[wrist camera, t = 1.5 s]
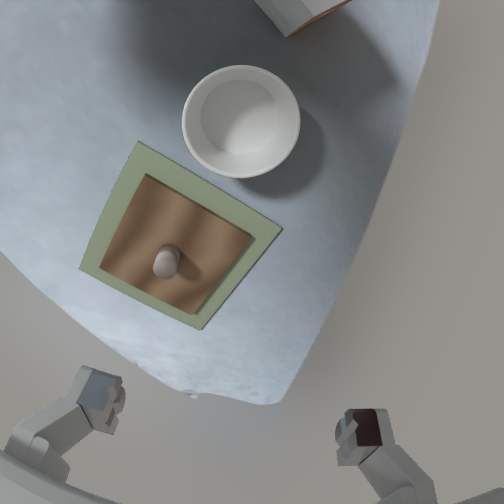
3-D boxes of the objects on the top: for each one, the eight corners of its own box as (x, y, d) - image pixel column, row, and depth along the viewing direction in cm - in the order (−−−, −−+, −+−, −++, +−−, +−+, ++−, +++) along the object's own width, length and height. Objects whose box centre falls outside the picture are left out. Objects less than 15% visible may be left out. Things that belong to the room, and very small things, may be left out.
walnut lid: (100, 264, 44) (89, 283, 39) (146, 172, 38) (135, 185, 33) (192, 311, 49) (190, 333, 45) (250, 234, 43) (253, 252, 39)
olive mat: (79, 267, 44) (78, 268, 44) (138, 140, 36) (137, 141, 35) (200, 328, 51) (199, 330, 51) (281, 226, 43) (282, 228, 43)
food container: (210, 177, 39) (207, 194, 33) (174, 89, 33) (163, 91, 28) (301, 146, 38) (314, 158, 32) (271, 55, 32) (279, 50, 26)
